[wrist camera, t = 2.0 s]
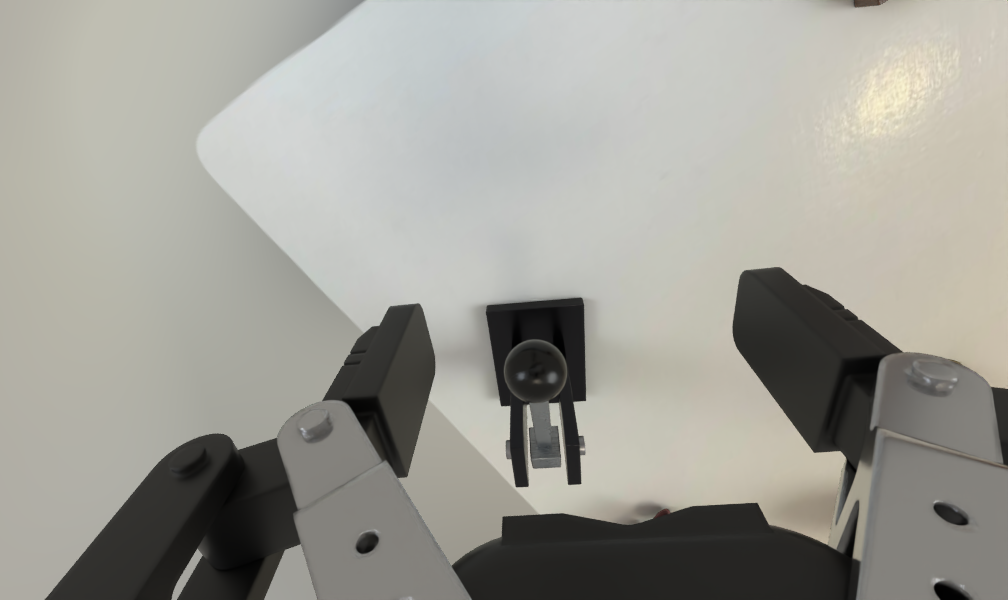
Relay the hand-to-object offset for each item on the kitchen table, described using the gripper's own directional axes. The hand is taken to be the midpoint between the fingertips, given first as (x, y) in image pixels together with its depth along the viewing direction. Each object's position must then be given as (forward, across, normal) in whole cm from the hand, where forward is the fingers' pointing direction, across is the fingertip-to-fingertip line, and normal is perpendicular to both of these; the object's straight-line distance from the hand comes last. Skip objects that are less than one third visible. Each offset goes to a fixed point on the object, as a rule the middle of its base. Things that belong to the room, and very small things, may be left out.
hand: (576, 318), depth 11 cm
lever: (+12, +2, +13) cm, 18 cm away
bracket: (+26, +2, +20) cm, 33 cm away
